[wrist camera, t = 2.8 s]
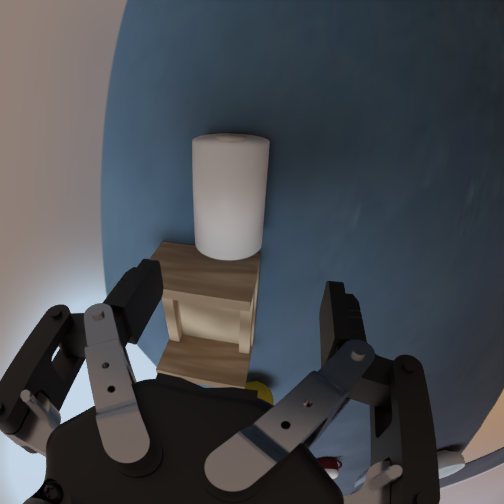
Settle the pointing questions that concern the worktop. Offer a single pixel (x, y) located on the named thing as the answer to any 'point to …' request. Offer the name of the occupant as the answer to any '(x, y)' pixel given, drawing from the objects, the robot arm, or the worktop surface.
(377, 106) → the worktop surface
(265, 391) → the lemon
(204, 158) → the paper roll
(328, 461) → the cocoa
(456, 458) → the cereal bowl
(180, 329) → the roll holder
